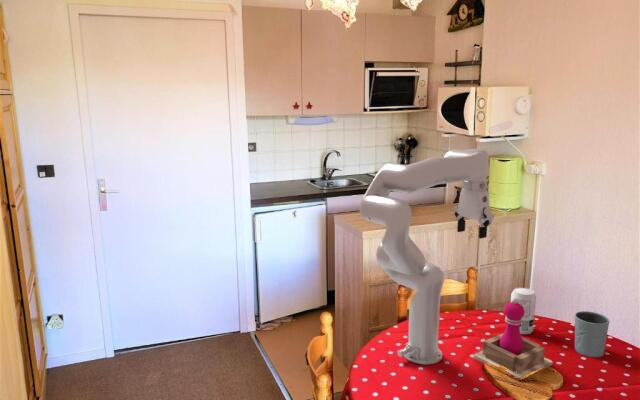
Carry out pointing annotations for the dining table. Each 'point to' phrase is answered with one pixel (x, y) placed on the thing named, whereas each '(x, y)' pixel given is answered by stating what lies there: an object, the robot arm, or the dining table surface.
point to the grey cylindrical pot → (590, 333)
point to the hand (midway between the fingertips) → (471, 234)
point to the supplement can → (526, 308)
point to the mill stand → (514, 357)
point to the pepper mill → (513, 328)
